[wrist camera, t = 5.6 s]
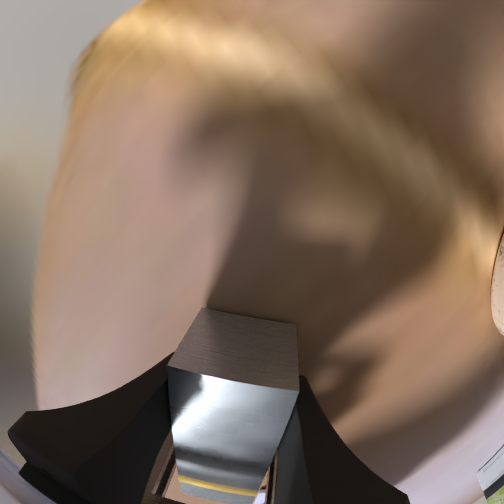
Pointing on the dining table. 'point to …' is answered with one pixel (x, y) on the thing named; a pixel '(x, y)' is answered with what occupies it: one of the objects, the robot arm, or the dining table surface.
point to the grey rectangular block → (230, 402)
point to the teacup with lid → (498, 289)
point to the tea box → (493, 479)
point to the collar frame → (165, 468)
